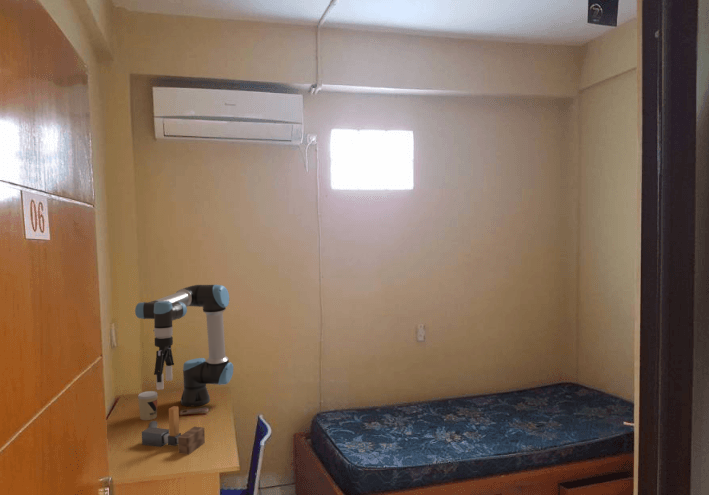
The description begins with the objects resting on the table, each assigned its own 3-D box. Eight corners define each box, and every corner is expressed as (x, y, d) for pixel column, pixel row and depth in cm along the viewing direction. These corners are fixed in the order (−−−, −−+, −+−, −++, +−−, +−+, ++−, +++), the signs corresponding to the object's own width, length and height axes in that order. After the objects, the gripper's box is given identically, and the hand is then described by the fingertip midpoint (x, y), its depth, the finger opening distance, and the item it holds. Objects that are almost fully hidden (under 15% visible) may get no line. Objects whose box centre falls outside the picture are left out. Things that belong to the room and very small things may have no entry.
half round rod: (146, 440, 242) (146, 436, 242) (148, 424, 261) (148, 421, 261) (156, 439, 244) (156, 435, 243) (157, 423, 262) (157, 420, 262)
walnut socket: (194, 441, 239) (194, 426, 238) (204, 443, 237) (204, 427, 237) (178, 453, 227) (178, 437, 227) (188, 454, 226) (188, 438, 225)
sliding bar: (149, 438, 241) (148, 403, 240) (187, 442, 235) (186, 407, 234) (142, 441, 237) (141, 406, 236) (181, 446, 231) (180, 410, 230)
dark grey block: (150, 439, 242) (149, 427, 241) (169, 442, 239) (168, 429, 238) (142, 444, 236) (141, 431, 236) (161, 447, 233) (160, 434, 233)
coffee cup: (151, 421, 264) (150, 397, 263) (134, 420, 266) (133, 396, 265) (162, 414, 273) (161, 391, 272) (145, 413, 275) (144, 390, 274)
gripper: (163, 331, 247) (164, 377, 247) (145, 342, 222) (146, 393, 222) (179, 331, 247) (180, 376, 248) (164, 342, 222) (165, 393, 223)
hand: (164, 384), depth 235 cm, fingers open, 13 cm apart
